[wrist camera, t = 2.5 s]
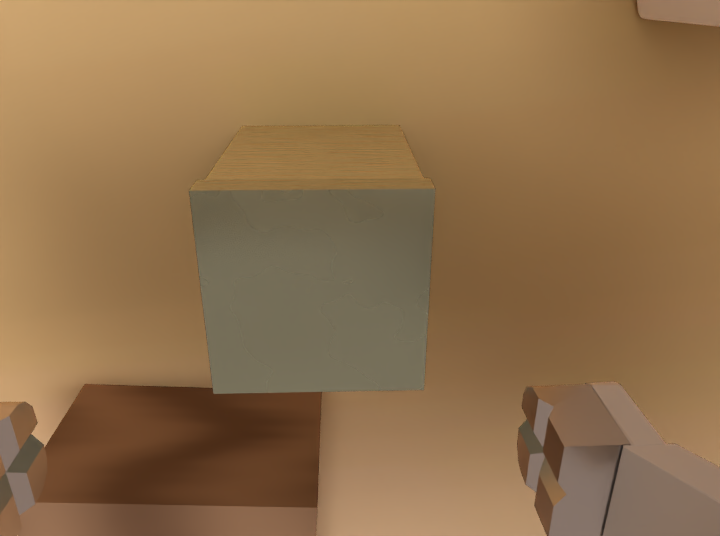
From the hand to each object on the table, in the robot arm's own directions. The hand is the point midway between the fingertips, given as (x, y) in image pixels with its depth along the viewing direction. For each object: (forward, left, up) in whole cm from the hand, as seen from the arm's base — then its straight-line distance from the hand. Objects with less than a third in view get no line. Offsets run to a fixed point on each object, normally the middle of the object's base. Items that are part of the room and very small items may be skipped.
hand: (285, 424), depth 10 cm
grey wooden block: (0, 0, -11) cm, 11 cm away
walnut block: (+5, +12, -11) cm, 17 cm away
